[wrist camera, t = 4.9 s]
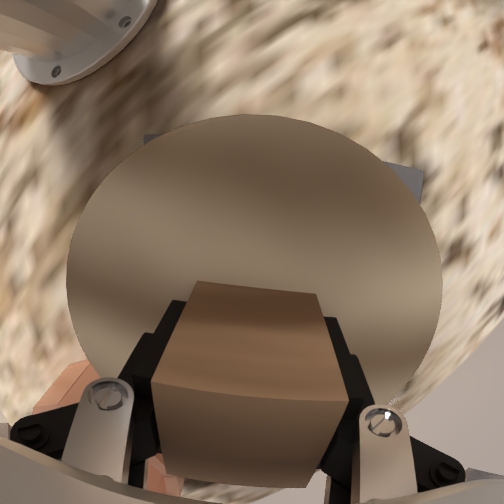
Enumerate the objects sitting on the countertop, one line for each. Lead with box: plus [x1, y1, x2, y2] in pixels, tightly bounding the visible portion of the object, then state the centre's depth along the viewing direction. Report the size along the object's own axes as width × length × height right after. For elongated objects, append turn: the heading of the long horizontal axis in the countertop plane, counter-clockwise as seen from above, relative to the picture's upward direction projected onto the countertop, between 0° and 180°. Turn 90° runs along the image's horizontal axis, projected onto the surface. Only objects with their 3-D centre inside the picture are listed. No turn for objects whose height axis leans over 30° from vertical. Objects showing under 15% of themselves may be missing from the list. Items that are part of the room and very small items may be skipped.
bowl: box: [32, 360, 185, 497], centre depth 20 cm, size 13×13×6 cm
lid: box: [66, 114, 443, 488], centre depth 9 cm, size 15×15×6 cm
